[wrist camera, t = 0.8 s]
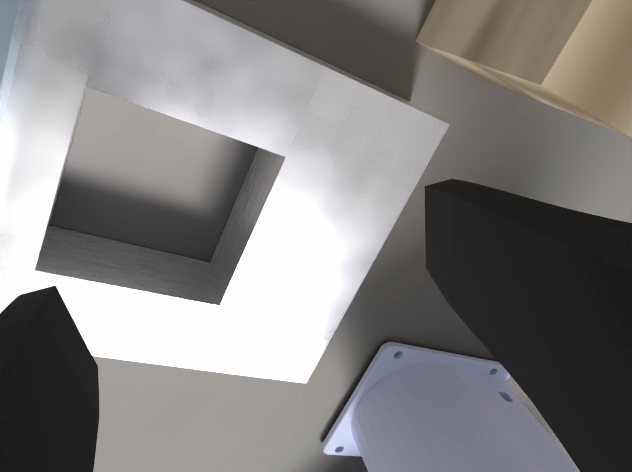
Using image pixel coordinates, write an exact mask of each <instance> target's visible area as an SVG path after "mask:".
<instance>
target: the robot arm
mask: <svg viewBox="0 0 632 472" xmlns="http://www.w3.org/2000/svg"><path fill="white" fill-rule="evenodd" d="M425 236H426V268H427V270H428V272H429V273H430V275H431V277H432V278H433V280H434V281H435V283H436V285H437V286H438V288H439V289H440V291H441V292H442V294H443V295H444V297H445V298H446V300H447V302H448V303H449V304H450V306H451V307H452V308H453V309H454V310H455V312H456V313H457V314H458V315H459V316H460V318H461V319H462V320H463V321H464V322H465V323H466V325H467V326H468V327H469V328H470V329H471V330H472V332H473V333H474V334H475V335H476V336H477V337H478V339H479V340H480V341H481V342H482V343H483V344H484V345H485V347H486V348H487V349H488V350H489V351H490V352H491V353H492V355H493V356H494V357H495V358H496V359H497V360H498V362H496V361H491V360H485V359H480V358H475V357H469V356H464V355H459V354H453V353H448V352H443V351H438V350H432V349H427V348H422V347H416V346H411V345H406V344H400V343H395V342H387V343H385V344H383V345H382V346H381V347H380V349H379V351H378V352H377V354H376V356H375V357H374V359H373V360H372V362H371V364H370V365H369V367H368V369H367V370H366V372H365V374H364V375H363V377H362V379H361V380H360V382H359V384H358V385H357V387H356V389H355V390H354V392H353V394H352V395H351V397H350V399H349V400H348V402H347V404H346V405H345V407H344V408H343V410H342V412H341V413H340V415H339V417H338V418H337V420H336V422H335V423H334V425H333V427H332V428H331V430H330V432H329V433H328V435H327V437H326V438H325V440H324V442H323V443H322V449H323V452H324V453H325V454H328V455H345V456H362V459H363V461H364V463H365V466H366V468H367V470H368V472H577V470H576V468H575V467H574V465H573V464H572V462H571V461H570V459H569V458H568V457H567V456H566V454H565V453H564V452H563V451H562V450H561V448H560V447H559V446H558V445H557V444H556V442H555V441H554V440H553V439H552V438H551V436H550V435H549V434H548V433H547V432H546V430H545V429H544V428H543V427H542V426H541V424H540V423H539V422H538V421H537V420H536V418H535V417H534V416H533V415H532V414H531V412H530V411H529V410H528V409H527V408H526V407H525V405H524V404H523V403H522V402H521V401H520V399H519V398H518V397H517V396H516V395H515V393H514V392H513V391H512V390H511V389H510V387H509V386H508V385H507V384H506V383H505V382H506V380H507V379H508V378H509V376H510V375H511V376H512V378H513V379H514V380H515V381H516V382H517V383H518V385H519V386H520V387H521V388H522V390H523V391H524V392H525V393H526V395H527V396H528V397H529V398H530V400H531V401H532V402H533V404H534V405H535V406H536V408H537V409H538V411H539V412H540V413H541V415H542V416H543V418H544V419H545V421H546V422H547V423H548V425H549V426H550V428H551V429H552V431H553V432H554V433H555V435H556V436H557V438H558V439H559V441H560V442H561V443H562V445H563V446H564V448H565V449H566V451H567V452H568V454H569V455H570V457H571V458H572V460H573V461H574V463H575V464H576V466H577V467H578V469H579V470H580V472H632V223H628V222H623V221H618V220H613V219H609V218H605V217H600V216H596V215H592V214H587V213H583V212H579V211H575V210H571V209H567V208H563V207H559V206H555V205H551V204H548V203H544V202H540V201H537V200H533V199H529V198H526V197H522V196H519V195H515V194H512V193H508V192H505V191H501V190H497V189H494V188H490V187H487V186H483V185H479V184H475V183H471V182H466V181H461V180H455V179H450V180H446V181H442V182H439V183H435V184H431V185H428V186H425ZM396 352H398V353H396ZM395 353H396V354H395ZM98 423H99V386H98V366H97V364H96V362H95V360H94V358H93V356H92V354H91V353H90V351H89V349H88V347H87V345H86V343H85V341H84V339H83V337H82V335H81V333H80V331H79V329H78V327H77V326H76V324H75V322H74V320H73V318H72V316H71V314H70V312H69V310H68V308H67V306H66V304H65V302H64V301H63V299H62V297H61V295H60V293H59V291H58V289H57V287H56V285H55V286H51V287H47V288H44V289H40V290H36V291H32V292H29V293H25V294H21V295H19V296H18V297H17V298H16V299H14V300H13V301H12V302H11V303H10V304H9V305H8V306H7V307H6V308H5V309H4V310H3V311H2V312H1V313H0V472H93V468H94V459H95V451H96V441H97V432H98Z"/></svg>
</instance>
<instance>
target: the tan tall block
mask: <svg viewBox="0 0 632 472" xmlns="http://www.w3.org/2000/svg"><path fill="white" fill-rule="evenodd" d="M415 42H417V43H419V44H421V45H423V46H424V47H426V48H428V49H430V50H432V51H434V52H435V53H437V54H439V55H441V56H443V57H445V58H446V59H448V60H450V61H452V62H454V63H456V64H457V65H459V66H461V67H463V68H465V69H467V70H469V71H470V72H472V73H474V74H476V75H478V76H480V77H481V78H483V79H485V80H487V81H489V82H491V83H493V84H496V85H498V86H501V87H503V88H506V89H509V90H511V91H514V92H516V93H519V94H521V95H524V96H526V97H529V98H532V99H534V100H537V101H539V102H542V103H544V104H547V105H549V106H552V107H555V108H557V109H560V110H562V111H565V112H567V113H570V114H573V115H575V116H578V117H580V118H583V119H585V120H588V121H590V122H593V123H596V124H598V125H601V126H603V127H606V128H608V129H611V130H613V131H616V132H619V133H621V134H624V135H626V136H629V137H632V0H435V2H434V4H433V6H432V8H431V10H430V12H429V14H428V16H427V18H426V20H425V22H424V24H423V26H422V28H421V30H420V33H419V35H418V37H417V39H416V41H415Z"/></svg>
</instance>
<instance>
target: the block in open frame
mask: <svg viewBox="0 0 632 472" xmlns="http://www.w3.org/2000/svg"><path fill="white" fill-rule="evenodd" d="M87 87H90V88H93V89H96V90H99V91H101V92H104V93H107V94H110V95H113V96H115V97H118V98H121V99H124V100H127V101H130V102H132V103H135V104H138V105H141V106H144V107H146V108H149V109H152V110H155V111H158V112H161V113H163V114H166V115H169V116H172V117H175V118H177V119H180V120H183V121H186V122H189V123H191V124H194V125H197V126H200V127H203V128H206V129H208V130H211V131H214V132H217V133H220V134H222V135H225V136H228V137H231V138H234V139H237V140H239V141H242V142H245V143H248V144H251V145H253V146H256V147H258V149H257V151H256V154H255V156H254V158H253V161H252V163H251V166H250V168H249V170H248V173H247V175H246V178H245V180H244V182H243V185H242V187H241V190H240V192H239V194H238V197H237V199H236V201H235V204H234V206H233V209H232V211H231V213H230V216H229V218H228V221H227V223H226V225H225V228H224V230H223V233H222V235H221V237H220V240H219V242H218V244H217V247H216V249H215V252H214V254H213V256H212V259H211V261H210V262H206V261H202V260H198V259H193V258H189V257H185V256H180V255H176V254H172V253H167V252H163V251H159V250H154V249H150V248H146V247H141V246H137V245H133V244H128V243H124V242H120V241H115V240H111V239H107V238H102V237H98V236H94V235H89V234H85V233H81V232H76V231H72V230H68V229H64V228H59V227H55V226H51V225H49V224H50V220H51V217H52V213H53V209H54V206H55V202H56V198H57V195H58V191H59V187H60V184H61V180H62V177H63V173H64V169H65V166H66V162H67V158H68V155H69V151H70V148H71V144H72V140H73V137H74V133H75V129H76V126H77V122H78V119H79V115H80V111H81V108H82V104H83V100H84V97H85V93H86V89H87ZM448 127H449V124H448V123H446V122H444V121H443V120H441V119H439V118H437V117H436V116H434V115H432V114H430V113H429V112H427V111H425V110H424V109H422V108H420V107H418V106H417V105H415V104H413V103H412V102H410V101H407V100H405V99H403V98H401V97H399V96H397V95H395V94H393V93H390V92H388V91H386V90H384V89H382V88H380V87H378V86H376V85H373V84H371V83H369V82H367V81H365V80H363V79H361V78H359V77H356V76H354V75H352V74H350V73H348V72H346V71H344V70H342V69H339V68H337V67H335V66H333V65H331V64H329V63H327V62H325V61H322V60H320V59H318V58H316V57H314V56H312V55H310V54H308V53H305V52H303V51H301V50H299V49H297V48H295V47H293V46H291V45H288V44H286V43H284V42H282V41H280V40H278V39H276V38H274V37H271V36H269V35H267V34H265V33H263V32H261V31H259V30H257V29H254V28H252V27H250V26H248V25H246V24H244V23H242V22H240V21H237V20H235V19H233V18H231V17H229V16H227V15H225V14H222V13H220V12H218V11H216V10H214V9H212V8H210V7H208V6H205V5H203V4H201V3H199V2H197V1H195V0H0V313H1V312H2V311H3V310H4V309H5V308H6V307H7V306H8V305H9V304H10V303H11V302H12V301H13V300H14V299H16V298H17V297H18V296H19V295H21V294H25V293H29V292H32V291H36V290H40V289H44V288H47V287H51V286H55V285H56V287H57V289H58V291H59V293H60V295H61V297H62V299H63V301H64V302H65V304H66V306H67V308H68V310H69V312H70V314H71V316H72V318H73V320H74V322H75V324H76V326H77V327H78V329H79V331H80V333H81V335H82V337H83V339H84V341H85V343H86V345H87V347H88V349H89V351H90V353H91V354H92V356H99V357H107V358H114V359H122V360H130V361H138V362H145V363H153V364H161V365H169V366H176V367H184V368H192V369H200V370H207V371H215V372H223V373H231V374H238V375H246V376H254V377H262V378H269V379H277V380H285V381H293V382H300V383H307V381H308V379H309V377H310V375H311V374H312V372H313V370H314V368H315V366H316V365H317V363H318V361H319V359H320V357H321V356H322V354H323V352H324V350H325V348H326V347H327V345H328V343H329V341H330V339H331V338H332V336H333V334H334V332H335V330H336V329H337V327H338V325H339V323H340V321H341V320H342V318H343V316H344V314H345V312H346V311H347V309H348V307H349V305H350V303H351V302H352V300H353V298H354V296H355V294H356V293H357V291H358V289H359V287H360V285H361V284H362V282H363V280H364V278H365V276H366V275H367V273H368V271H369V269H370V267H371V266H372V264H373V262H374V260H375V258H376V257H377V255H378V253H379V251H380V249H381V248H382V246H383V244H384V242H385V240H386V239H387V237H388V235H389V233H390V231H391V230H392V228H393V226H394V224H395V222H396V221H397V219H398V217H399V215H400V213H401V212H402V210H403V208H404V206H405V204H406V202H407V201H408V199H409V197H410V195H411V193H412V192H413V190H414V188H415V186H416V184H417V183H418V181H419V179H420V177H421V175H422V174H423V172H424V170H425V168H426V166H427V165H428V163H429V161H430V159H431V157H432V156H433V154H434V152H435V150H436V148H437V147H438V145H439V143H440V141H441V139H442V138H443V136H444V134H445V132H446V130H447V129H448Z"/></svg>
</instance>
